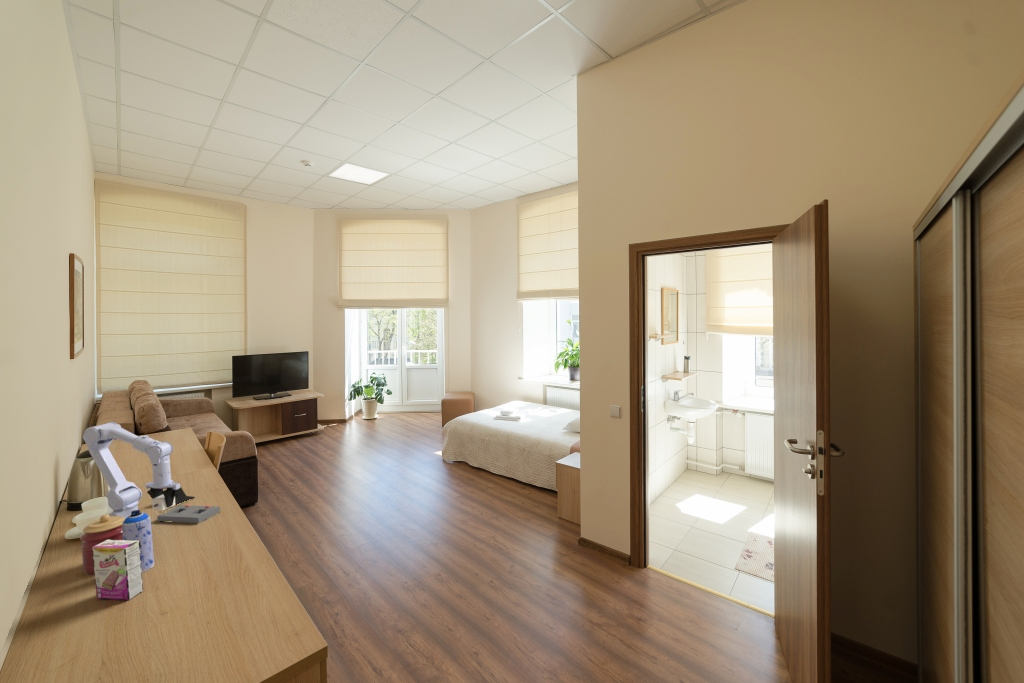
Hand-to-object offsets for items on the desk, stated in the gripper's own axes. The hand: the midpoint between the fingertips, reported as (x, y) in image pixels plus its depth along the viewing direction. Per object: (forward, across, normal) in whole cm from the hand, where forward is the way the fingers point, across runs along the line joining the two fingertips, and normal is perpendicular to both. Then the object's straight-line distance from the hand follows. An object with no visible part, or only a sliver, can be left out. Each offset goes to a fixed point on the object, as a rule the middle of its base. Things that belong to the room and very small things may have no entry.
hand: (164, 505), depth 183 cm
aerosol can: (+9, -20, +28) cm, 36 cm away
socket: (+9, -1, -10) cm, 13 cm away
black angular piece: (+10, +20, -24) cm, 33 cm away
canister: (+9, -6, +27) cm, 29 cm away
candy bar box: (+9, -29, +42) cm, 52 cm away
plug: (+3, 0, 0) cm, 3 cm away
